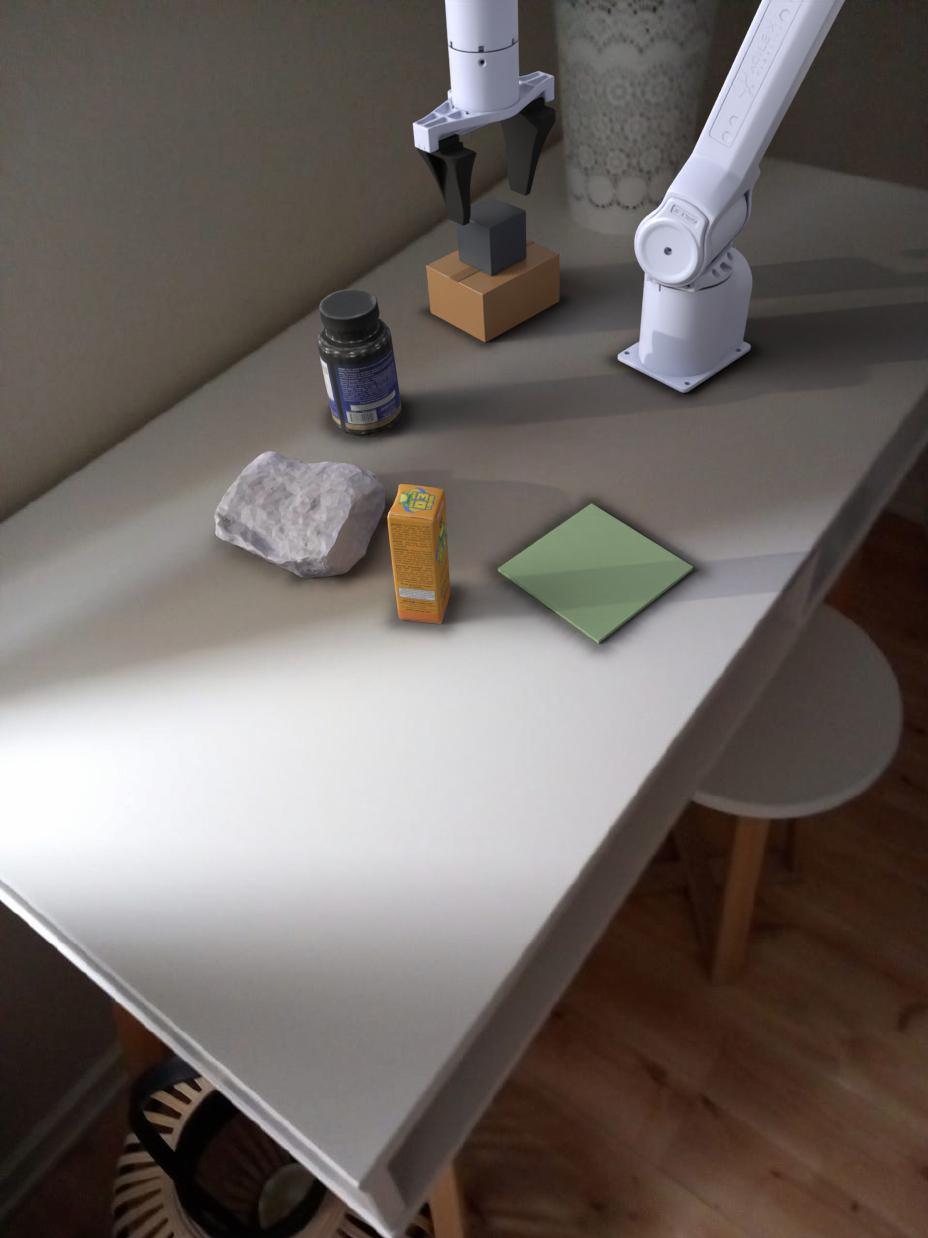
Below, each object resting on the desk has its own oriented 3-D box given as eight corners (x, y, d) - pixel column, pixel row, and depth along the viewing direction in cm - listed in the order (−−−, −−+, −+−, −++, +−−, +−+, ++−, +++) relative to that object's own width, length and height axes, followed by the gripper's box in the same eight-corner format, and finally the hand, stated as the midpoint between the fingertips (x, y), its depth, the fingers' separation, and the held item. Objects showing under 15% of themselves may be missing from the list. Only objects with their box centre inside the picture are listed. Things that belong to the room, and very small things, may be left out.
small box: (493, 242, 95) (491, 195, 91) (527, 257, 92) (526, 210, 89) (458, 260, 93) (455, 212, 89) (491, 276, 90) (489, 228, 87)
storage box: (504, 274, 100) (502, 226, 97) (559, 301, 96) (560, 252, 92) (430, 312, 96) (425, 265, 92) (484, 343, 92) (482, 294, 88)
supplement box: (445, 626, 68) (433, 520, 61) (398, 621, 69) (380, 515, 61) (455, 592, 70) (445, 485, 63) (409, 587, 71) (393, 481, 64)
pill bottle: (416, 408, 86) (402, 293, 77) (375, 446, 82) (356, 331, 74) (360, 389, 88) (341, 276, 80) (318, 426, 85) (294, 312, 77)
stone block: (351, 602, 73) (396, 497, 77) (333, 565, 69) (382, 458, 73) (214, 574, 76) (265, 476, 81) (190, 538, 72) (245, 437, 77)
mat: (591, 505, 76) (591, 503, 75) (693, 569, 70) (693, 566, 70) (497, 571, 71) (497, 568, 71) (598, 644, 66) (598, 641, 66)
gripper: (513, 7, 84) (517, 166, 94) (382, 55, 78) (401, 220, 88) (573, 23, 80) (569, 188, 90) (440, 75, 74) (453, 245, 84)
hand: (490, 205), depth 89 cm, fingers open, 7 cm apart
